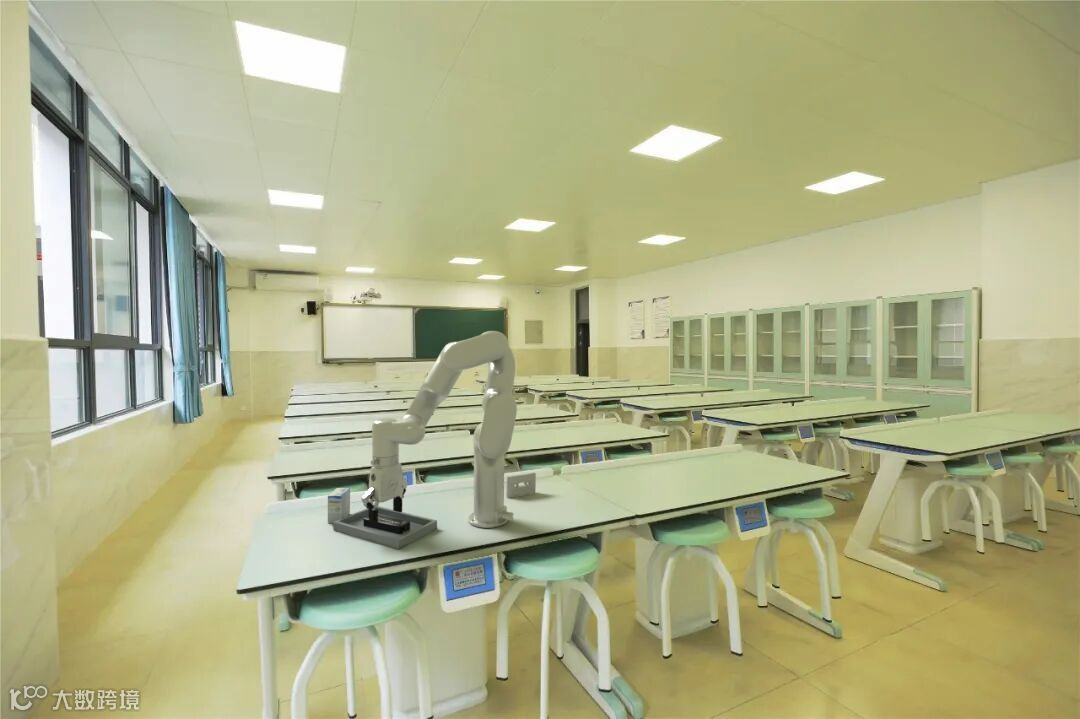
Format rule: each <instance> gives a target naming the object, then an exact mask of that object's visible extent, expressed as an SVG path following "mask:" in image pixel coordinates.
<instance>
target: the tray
mask: <svg viewBox="0 0 1080 719" xmlns="http://www.w3.org/2000/svg"><path fill="white" fill-rule="evenodd" d="M376 509H377V510H378V515H382V516H387V517H391V518H396V519H401V520H405V521H410V530H408V531H406V532H405V533H403V534H396V533H392V532H388V531H383V530H379V529H375V528H370V527H366V526H363V519H364V518H365V517H367V516H369V509H367V508H365V509H362V510H359V511H356V512H354V513H352V514H350V515H348V516H347V517H344V518H342V519H339V520H337V521H334V522H333V523H332V525H333V527H332V530H333V531H334V532H335V531H336V532H338V533H341V534H346V535H348V536H352V537H355V538H358V539H362V540H365V541H369V542H371V543H376V544H379V545H382V546H385V547H388V548H392V549H395V550H398V551H399V550H401V549H402V548H404V547H407V546H408V545H410V544H411V543H412V544H413V543H414V542H415V541H417V540H419V539H420V538H421V539H422V537H424V536H426V535H428V534H430V533H432V532H433V531H435V530H437V529H438V520H437V519H433V518H428V517H424V516H420V515H416V514H413V513H412V514H411V513H407V512H404V511H402V512H396V511H393V508H388V507H384V506H379V505H378V506H377V508H376Z"/></svg>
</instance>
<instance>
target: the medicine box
mask: <svg viewBox="0 0 1080 719" xmlns="http://www.w3.org/2000/svg"><path fill="white" fill-rule="evenodd" d="M349 514H350V515H351V488H349V487H336V488H335V489H334V490H332V492H330V494H329V495H328V496H327V523H328V524H333V522H334V521H337V520H339V519H342V518H344V517H347V516H349Z"/></svg>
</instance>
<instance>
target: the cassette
mask: <svg viewBox="0 0 1080 719" xmlns="http://www.w3.org/2000/svg"><path fill="white" fill-rule="evenodd" d="M536 476H537V474H536V472H528V473H522V474H514V475H509V476H508V475H507V476H506V478H505V480H506V483H505V485H506V486H505V497H506V498H507V499H509V498H518V497H521V496H522V497H523V496H527V495H532V494H535V493H536V483H537V482H536V481H537V479H536V478H537V477H536ZM521 483H523V484H521ZM520 484H521V485H520Z"/></svg>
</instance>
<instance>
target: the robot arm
mask: <svg viewBox="0 0 1080 719" xmlns="http://www.w3.org/2000/svg"><path fill="white" fill-rule="evenodd" d="M485 364H488V366H487V367H488V370H487V371H488V373H487V377H486V383H485V386H484V393H483V397H482V400H481V408H482V410H483V412H484V414H483V419H482V422H480V423H479V424H478V425H477V426H476V428H475V429H474V432H473V438H472V441H473V462H474V463H473V464H474V465H473V512H472V513H470V515H469V516H468V523H469V525H471V526H473V527H478V528H483V529H485V528H487V529H489V528H497V527H501V526H504V525H505V524H507V523H508V522H511V523H512V522H513V521H514V512H512V511H508V506H506V505H504V504H505V503H504V502H505V456H506V453H507V452H508V451H509V449H510V447H511V443H512V439H513V434H514V428H515V425H516V418H517V413H518V411H517V410H518V407H517V404H518V403H517V401H516V398H515V397H514V396H513V390H514V384H515V376H516V367H517V366H516V359H515V355H514V354H513V351H512V349H511V347H510V346H509V340H508V338H507V336H506V335H505V334H504V333H502V332H500V331H496V330H488V331H485V332H483V333H481V334H480V335H475V336H473V337H471V338H467V339H463V340H458V341H451V342H448V343H447V344H445V346H444V347H443V348H442V350H441V351H440V353H439V355H438V357H437V358H436V360H435V362H433V366H432V367H431V369H430V371H429V372H428V374H427V375H426V377H425V379H424V381H423V382H422V383H421V385H420V388H419V390H418V391H417V393H416V395H415V397H414V399H413V401H412V402H411V403H410V405H409V407H408V409H407V410H406V411H405V413H404V415H403V418H402V419H401V420H397V419H396V418H389V417H388V418H387V417H386V418H379V419H376V420H374V421H373V422H372V427H371V431H372V433H371V436H372V437H371V438H372V440H371V442H372V445H371V446H372V454H371V455H372V458H371V459H372V460H371V461H370V464H371V468H370V470H369V471H370V472H369V479H368V480H369V481H368V491H366V492H365V494H364V495H362V497H361V498H360V499H361V502H362V504H363V506H364V507H366V508H367V509H369V522H372V523H375V524H376V523H378V510H377V509H376V508H377V506H379V504H380V503H384V502H385V503H386V502H387V501H390V500H393V501H392V504H393V505H392V507H393V508H392V510H393V511H396V512H403V499H404V498H405V493H406V492H407V488H408V485H409V482H408V481H405V480H404V473H403V472H404V471H403V467H402V462H400V445H409V446H413V445H417V444H419V443H421V442H422V441H423V440H424V438H425V435H426V426H427V424H428V423H429V421H430V419H431V418H432V416H433V414H434V412H436V409H438V407H439V406H440V405H441V404H442V403H443V402H445V400H446V399H447V398H448V397H449V395H450V393H451V392H452V390H453V388H454V386H455V384H456V383H457V381H458V380H459V378H460V376H461V374H462V373H463V371H464V370H465V371H466V370H469V369H472V368H475V367H479V366H482V365H485ZM366 508H365V509H366Z"/></svg>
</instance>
